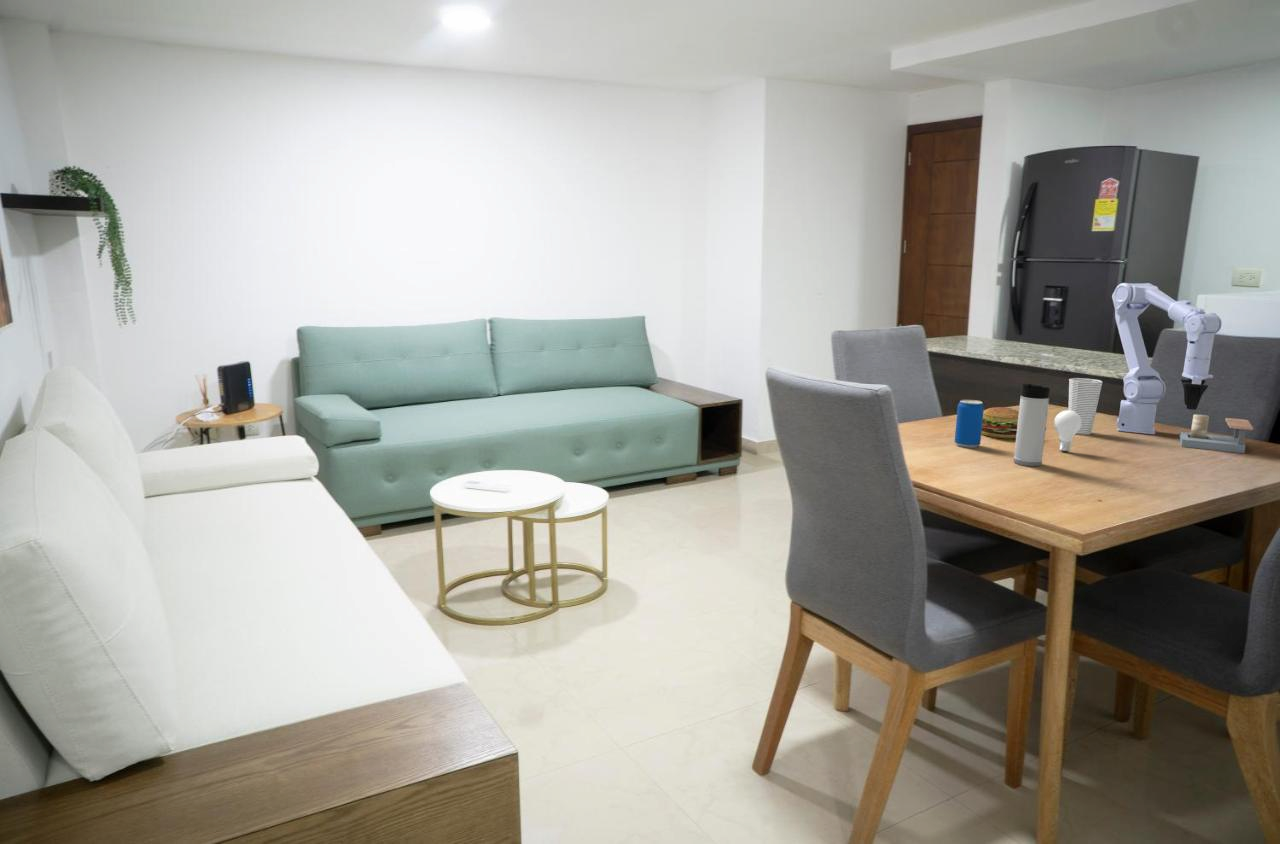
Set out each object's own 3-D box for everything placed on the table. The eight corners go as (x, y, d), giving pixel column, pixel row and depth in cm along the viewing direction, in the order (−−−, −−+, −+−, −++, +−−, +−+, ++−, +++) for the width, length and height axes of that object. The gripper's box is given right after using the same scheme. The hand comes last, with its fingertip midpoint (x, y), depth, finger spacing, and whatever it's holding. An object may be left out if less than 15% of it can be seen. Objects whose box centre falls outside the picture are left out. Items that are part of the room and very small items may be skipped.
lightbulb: (1052, 447, 222) (1056, 407, 220) (1078, 451, 219) (1083, 409, 217) (1049, 452, 217) (1054, 410, 215) (1077, 455, 214) (1082, 413, 211)
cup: (1100, 436, 237) (1107, 382, 234) (1068, 435, 239) (1075, 381, 236) (1089, 430, 246) (1096, 378, 243) (1058, 429, 247) (1065, 377, 244)
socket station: (1181, 446, 226) (1185, 421, 225) (1179, 438, 237) (1182, 414, 236) (1249, 453, 219) (1253, 427, 217) (1243, 444, 230) (1247, 419, 228)
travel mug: (1006, 461, 206) (1015, 381, 202) (1027, 459, 208) (1036, 380, 204) (1026, 467, 200) (1035, 385, 196) (1047, 465, 203) (1056, 384, 199)
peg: (1190, 444, 229) (1194, 416, 227) (1188, 442, 232) (1192, 413, 231) (1205, 446, 227) (1210, 417, 226) (1203, 443, 231) (1207, 415, 229)
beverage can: (975, 443, 226) (980, 399, 224) (983, 448, 220) (987, 404, 217) (951, 442, 227) (955, 399, 224) (957, 447, 220) (962, 403, 218)
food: (981, 439, 232) (983, 411, 230) (970, 429, 245) (973, 402, 244) (1033, 442, 229) (1036, 413, 228) (1020, 431, 243) (1023, 405, 241)
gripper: (1218, 361, 218) (1210, 412, 221) (1213, 356, 230) (1205, 404, 233) (1186, 359, 221) (1178, 409, 224) (1182, 354, 234) (1175, 402, 236)
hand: (1190, 407), depth 229 cm, fingers open, 7 cm apart
